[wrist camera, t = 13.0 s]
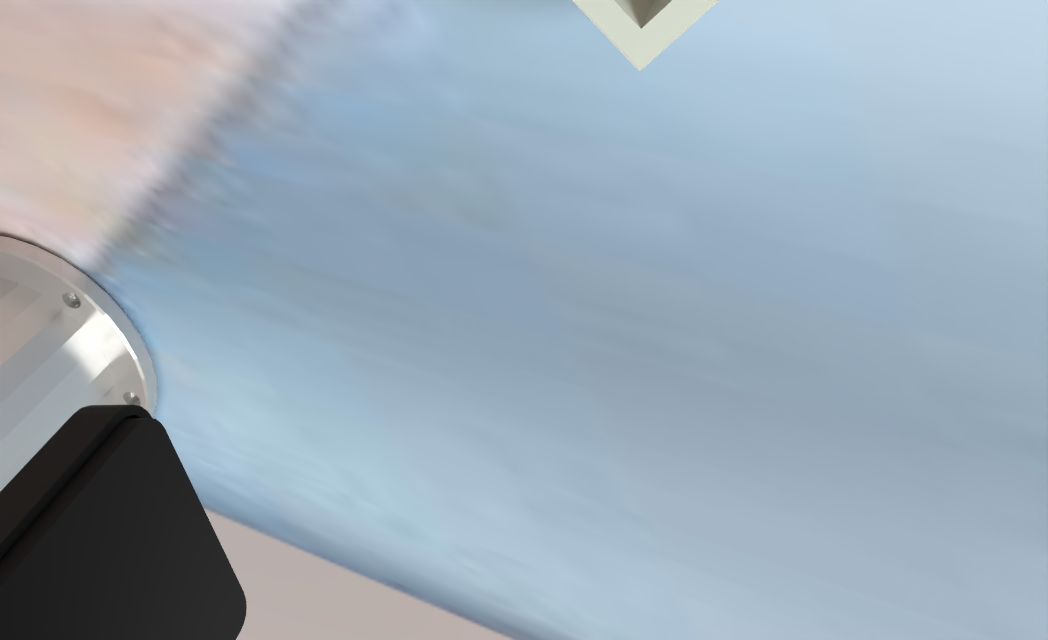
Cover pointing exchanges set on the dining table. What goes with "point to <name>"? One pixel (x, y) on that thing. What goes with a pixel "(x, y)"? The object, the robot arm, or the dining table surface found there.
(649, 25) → the bin
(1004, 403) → the dining table surface
